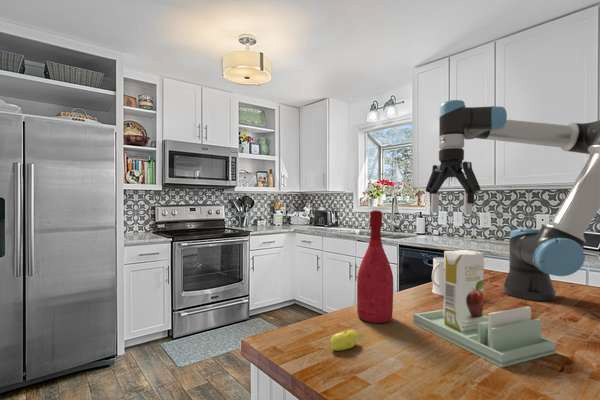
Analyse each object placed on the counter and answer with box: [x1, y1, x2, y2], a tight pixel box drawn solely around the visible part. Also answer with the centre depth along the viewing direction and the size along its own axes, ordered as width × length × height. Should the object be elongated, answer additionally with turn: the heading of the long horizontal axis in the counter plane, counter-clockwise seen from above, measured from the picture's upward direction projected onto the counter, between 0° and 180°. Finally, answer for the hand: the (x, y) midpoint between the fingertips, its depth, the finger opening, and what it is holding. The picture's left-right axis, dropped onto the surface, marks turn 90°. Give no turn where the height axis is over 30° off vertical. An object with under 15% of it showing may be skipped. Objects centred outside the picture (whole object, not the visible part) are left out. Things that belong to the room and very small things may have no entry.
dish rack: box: [413, 306, 557, 368], centre depth 81 cm, size 17×25×9 cm
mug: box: [431, 257, 444, 297], centre depth 118 cm, size 12×8×12 cm
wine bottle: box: [356, 209, 394, 324], centre depth 92 cm, size 10×10×30 cm
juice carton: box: [442, 249, 485, 332], centre depth 85 cm, size 8×9×19 cm
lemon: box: [329, 329, 360, 352], centre depth 74 cm, size 4×8×4 cm, turn 124°
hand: (450, 213), depth 110 cm, fingers open, 13 cm apart
